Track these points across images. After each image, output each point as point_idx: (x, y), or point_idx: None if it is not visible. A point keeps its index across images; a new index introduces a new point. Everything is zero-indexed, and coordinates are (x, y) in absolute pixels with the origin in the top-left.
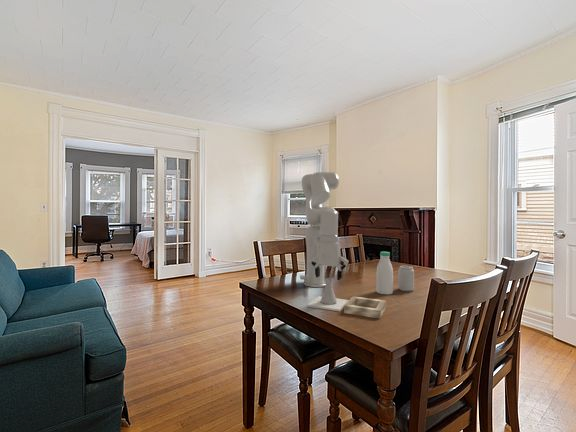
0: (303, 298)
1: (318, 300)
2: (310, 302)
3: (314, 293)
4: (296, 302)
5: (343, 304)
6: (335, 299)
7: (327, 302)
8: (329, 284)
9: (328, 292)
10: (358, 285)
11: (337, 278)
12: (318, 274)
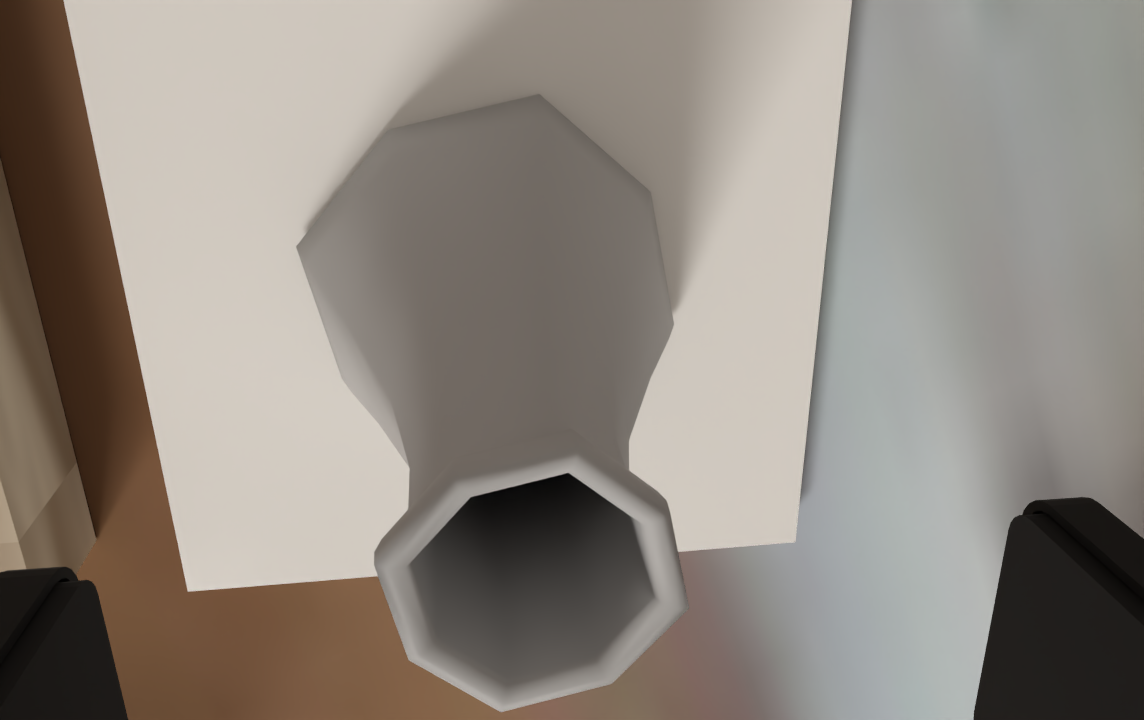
0: (1042, 356)
1: (721, 287)
2: (841, 79)
3: (918, 685)
4: (1126, 57)
5: (145, 286)
6: (329, 321)
7: (456, 131)
8: (460, 417)
9: (464, 264)
10: None
11: (56, 610)
12: (1053, 667)
